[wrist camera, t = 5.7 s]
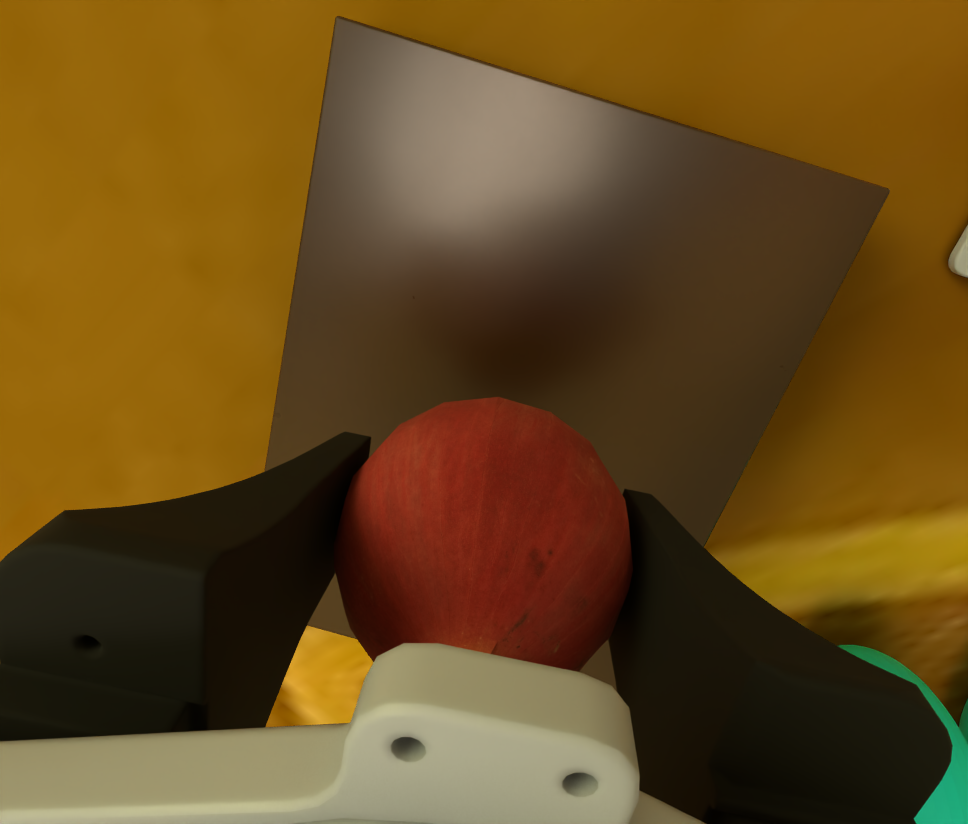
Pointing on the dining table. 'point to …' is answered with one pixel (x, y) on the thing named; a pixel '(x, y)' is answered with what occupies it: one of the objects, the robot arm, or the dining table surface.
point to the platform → (551, 272)
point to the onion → (485, 537)
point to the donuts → (964, 788)
